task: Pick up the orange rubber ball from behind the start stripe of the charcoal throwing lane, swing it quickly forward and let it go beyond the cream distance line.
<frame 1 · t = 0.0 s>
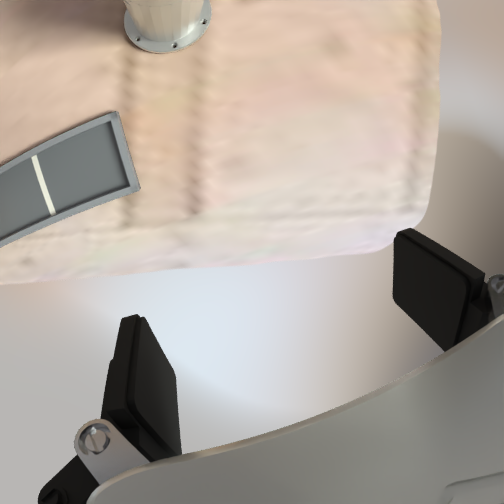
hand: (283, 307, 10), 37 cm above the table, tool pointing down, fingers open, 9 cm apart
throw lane: (32, 190, 38), on the table
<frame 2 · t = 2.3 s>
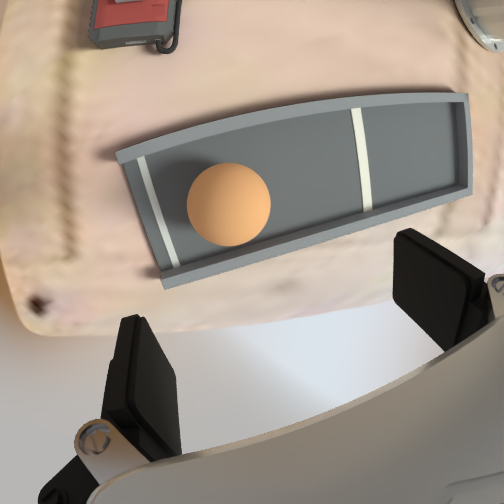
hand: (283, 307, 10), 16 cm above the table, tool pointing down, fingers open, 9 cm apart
ball: (228, 204, 22), point 3 cm above the table, touching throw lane
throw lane: (337, 164, 26), on the table
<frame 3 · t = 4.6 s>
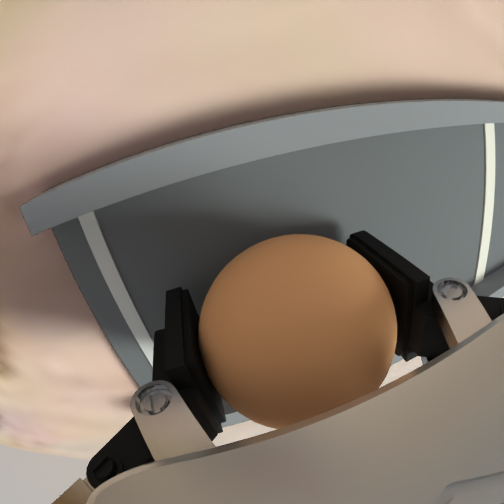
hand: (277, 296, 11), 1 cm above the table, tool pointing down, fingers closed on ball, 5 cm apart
ball: (298, 333, 9), point 3 cm above the table, touching gripper, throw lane
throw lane: (457, 215, 13), on the table
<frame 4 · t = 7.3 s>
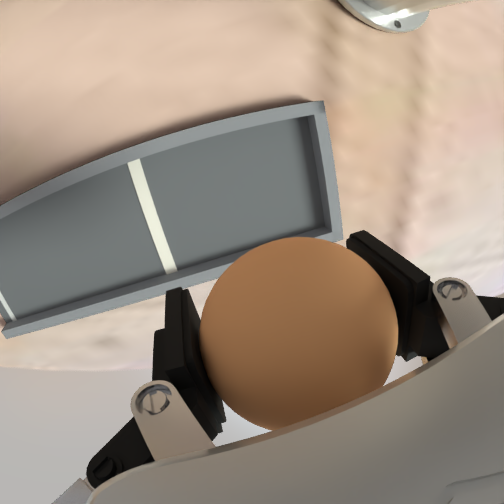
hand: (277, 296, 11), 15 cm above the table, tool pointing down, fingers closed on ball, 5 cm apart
ball: (299, 336, 9), point 17 cm above the table, touching gripper
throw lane: (124, 226, 24), on the table
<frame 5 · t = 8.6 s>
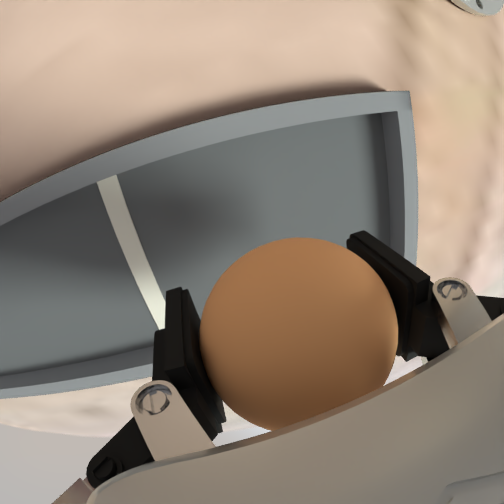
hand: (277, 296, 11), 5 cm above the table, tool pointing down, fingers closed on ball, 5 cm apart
ball: (299, 336, 9), point 8 cm above the table, touching gripper
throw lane: (100, 277, 15), on the table
when the fingers open (3 cm above the table, at t = 9.9 s): ball drops 2 cm, resting on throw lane.
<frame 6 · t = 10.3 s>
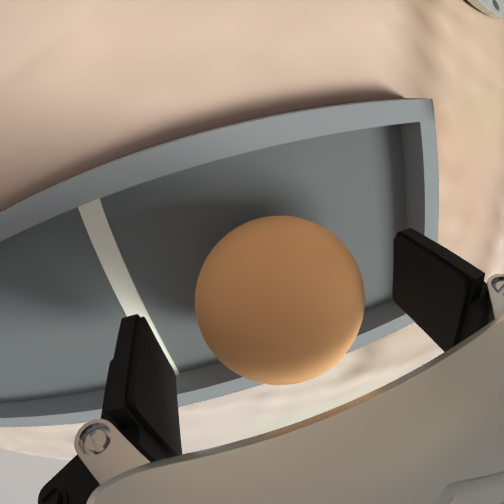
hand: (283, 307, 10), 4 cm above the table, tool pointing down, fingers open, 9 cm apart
ball: (280, 300, 11), point 3 cm above the table, touching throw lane
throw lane: (87, 310, 13), on the table
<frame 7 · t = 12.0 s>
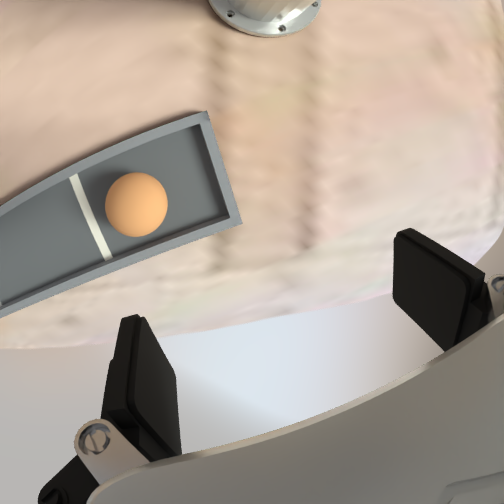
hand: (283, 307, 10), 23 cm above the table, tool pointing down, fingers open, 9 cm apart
ball: (136, 204, 27), point 3 cm above the table, touching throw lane
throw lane: (72, 225, 29), on the table
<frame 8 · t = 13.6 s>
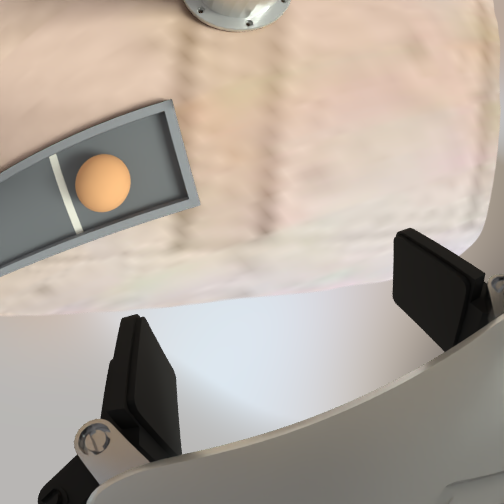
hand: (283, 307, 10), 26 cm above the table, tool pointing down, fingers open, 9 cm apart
ball: (102, 183, 28), point 3 cm above the table, touching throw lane
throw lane: (50, 201, 30), on the table
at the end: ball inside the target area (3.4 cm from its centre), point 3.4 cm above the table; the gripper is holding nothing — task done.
